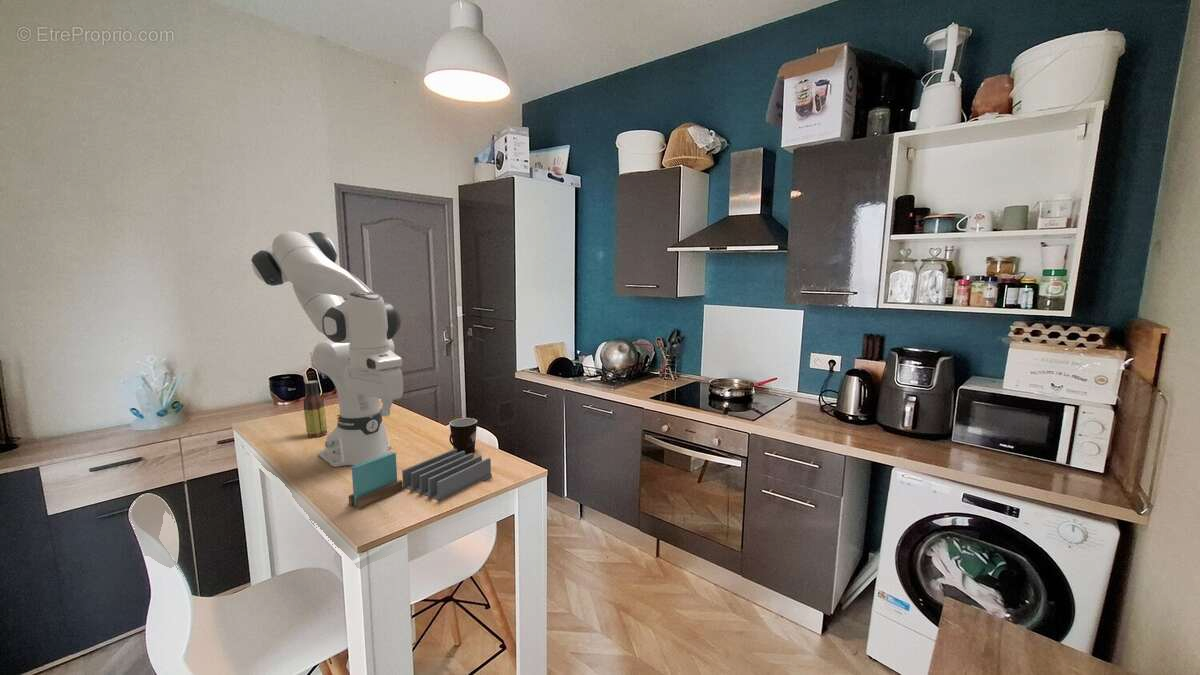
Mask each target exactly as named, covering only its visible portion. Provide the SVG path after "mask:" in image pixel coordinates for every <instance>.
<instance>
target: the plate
mask: <svg viewBox="0 0 1200 675" xmlns="http://www.w3.org/2000/svg"><path fill="white" fill-rule="evenodd" d="M397 470H398V469H397V453H396V452H394V451H391V452H388V454H385V455H382V456H380V457H377V458H374V459H371V460H368V461H366V462H363V463H360V464H357V465H351V478H352V479H351V480H352V492H353V493H352V494H354V506H356V499H357V498H359V497H361V496H364V495H366V494H368V493H371V492H373V491H375V490H378V489H380V488H382V487H385V486H387V485H389V484H392V483H394V482H396V481H398V472H397Z"/></svg>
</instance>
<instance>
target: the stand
mask: <svg viewBox="0 0 1200 675" xmlns="http://www.w3.org/2000/svg"><path fill="white" fill-rule="evenodd" d="M405 491H406V490H405V489H404V487H403V480H401V479H399V480H397V481H396V482H394V483H392V484H389V485H387V486H385V487H382V488H380V489H378V490H375V491H373V492H371V493H368V494H366V495H364V496H361V497H359V498H357V499H356V506H354V494H353V493H352V494H349V495H348V503H347V505H348V506H350V507H352V508H355V509H357V510H359V511H364V510H365V509H367V508H370V507H373V506H374V505H376V504H378V503H381V502H383V501H386V500H387V499H389V498H392V497H394V496H397V495H399V494H401V493H403V492H405Z"/></svg>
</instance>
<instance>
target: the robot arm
mask: <svg viewBox="0 0 1200 675" xmlns="http://www.w3.org/2000/svg"><path fill="white" fill-rule="evenodd" d="M271 245H272V246H271V247H268V248H266V249H264V250H263V249H261V250H259V251H258V252H256V253H254V254H253V255H252V257H251V260H250V261H251V268H252V270H253V272H254V275H256V277H257V278H259V280H261V281H262V282H264V283H265V284H266V285H268V286H271V287H274V286H275V287H276V286H280V285H284V284H285V283H287V282H290V283H291V284H292V288H293V290H294V291H293V292H294V294H295V296H296V299H297V300H298V302H299V304H300V306H301V307H302V309H303V311H304V313H305V314H306V315H307V317H308V318H309V320H310V321H311V322H312V324H313V326H314V327H315V329H316V330H317V331H318V333H321V334H323V335H324V336H325V337H326V338H327V339H326V340H323V341H321V342H318V343H317V344H316V345H315V347H314V348H313V351H312V355H311V356H312V363H313V365H314V366H315V368H316V369H317V371H319V372H320V373H322V374H323V375H325V376H327V377H328V378H329V380H331V381H332V383H333V385H334V387H335V389H336V392H337V396H338V398H337V399H338V404H339V414H337V415H336V417H337V418H336V419H337V423H336V426H337V427H335V428H334V429H333V430H332V431H331V432H330V433H328V435H327V436H326V439H325V440H326V441H325V442H324V447H325V448H323V449H321V450H319V451H318V454H317V455H318V456H319V457H320V458H322V460H324V461H325V462H327V464H329V465H330V466H331V467H333V468H334V467H335V468H337V467H342V466H343V467H344V466H355V465H357V464H360V463H363V462H366V461H368V460H371V459H374V458H377V457H380V456H382V455H385V454H388V453H389V450H390V449H391V448H392V444H390V443H388V442H389V441H388V436H387V429H386V426H385V424H384V423H382V422H383V417H389V416H390V415H391V407H392V405H393V402H394V401H395V400H398V399H401V398H402V396H403V393H404V378H403V377H404V376H403V371H402V369H401V368H400V367H402V366H403V359H402V357H401V356H399V355H397V354H396V353H395V343H394V340H393V339H392V338H394V337H395V336H396V335H397V333H398V332H399V330H400V328H401V324H402V323H401V322H402V320H401V316H400V314H399V312H398V311H397V309H396V308H395V307H394V306H393V305H392V304H391V303H389V302H387V301H385V300H384V298H383V296H382V295H380V294H379V293H376V292H374V291H373V290H371V289H370V288H369V286H367V285H366V284H365V283H364V282H363V281H362V280H361V279H360V278H358V277H357V276H356V274H354V273H352V272H350V271H349V270H347V269H345V268H343V267H341V266H339V264H337V263H336V261H337V257H338V254H337V248H336V246H335V244H334V242H333V241H332V240H331V239H330V238H329V237H328V236H327V235H326V234H325V233H323V232H320V231H315V232H314V231H312V232H308V233H307V234H302V233H301V232H299V231H292V230H289V231H284V232H282V233H280V234H278V235H277V236H276V237H275V238H274V239H273V241H272V244H271ZM380 400H381V401H380ZM393 400H394V401H393ZM380 402H381V403H380ZM381 404H382V406H380V405H381ZM380 407H381V408H380Z"/></svg>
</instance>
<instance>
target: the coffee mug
mask: <svg viewBox="0 0 1200 675" xmlns="http://www.w3.org/2000/svg"><path fill="white" fill-rule="evenodd" d="M477 426H478V420H477V419H475V418H471V417H462V418H456V419H453V420H451V421H450V422H449V428H450V434H449V443H450V445H452V447H453V449H457V453H459V452H461V451H465V456H466V455H468V454H470V453H473V454H474V452H475V450H476V449H475V448H476V441H477V440H476V439H477V438H476V437H477V428H478V427H477Z"/></svg>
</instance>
